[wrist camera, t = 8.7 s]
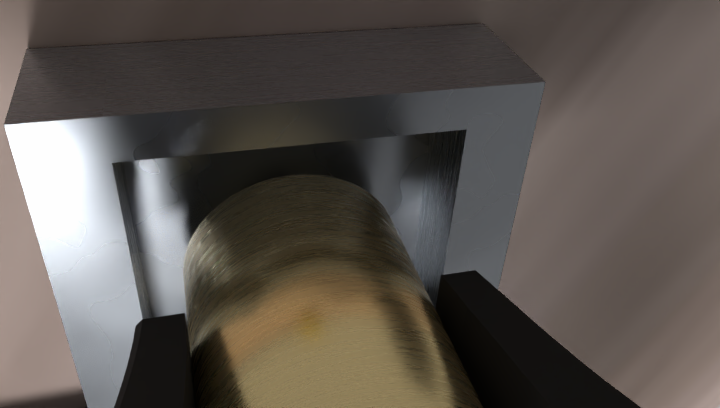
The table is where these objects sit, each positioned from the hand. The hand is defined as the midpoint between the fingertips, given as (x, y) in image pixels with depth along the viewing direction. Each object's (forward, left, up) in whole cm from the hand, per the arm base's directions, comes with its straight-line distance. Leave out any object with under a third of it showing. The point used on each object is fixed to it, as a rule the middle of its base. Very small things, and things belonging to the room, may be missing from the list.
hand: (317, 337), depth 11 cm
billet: (0, 0, -2) cm, 2 cm away
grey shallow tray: (-3, 0, -4) cm, 5 cm away
